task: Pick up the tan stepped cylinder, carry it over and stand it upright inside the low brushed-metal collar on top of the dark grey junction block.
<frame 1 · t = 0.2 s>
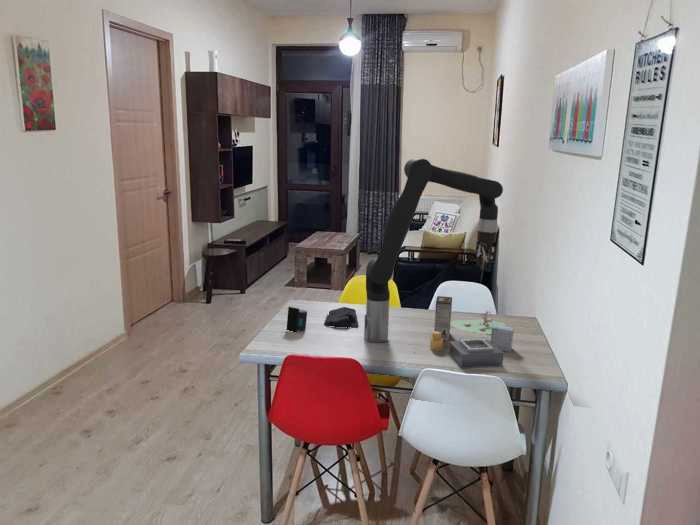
hand: (483, 268, 230), 29 cm above the table, tool pointing down, fingers open, 8 cm apart
medicine box: (501, 348, 222), on the table
plant: (477, 327, 247), on the table
coffee box: (441, 336, 233), on the table
junction block: (474, 359, 210), on the table
speaker: (297, 330, 236), on the table
dark slate chunk: (342, 321, 251), on the table
tan stepped cylinder: (436, 348, 220), on the table
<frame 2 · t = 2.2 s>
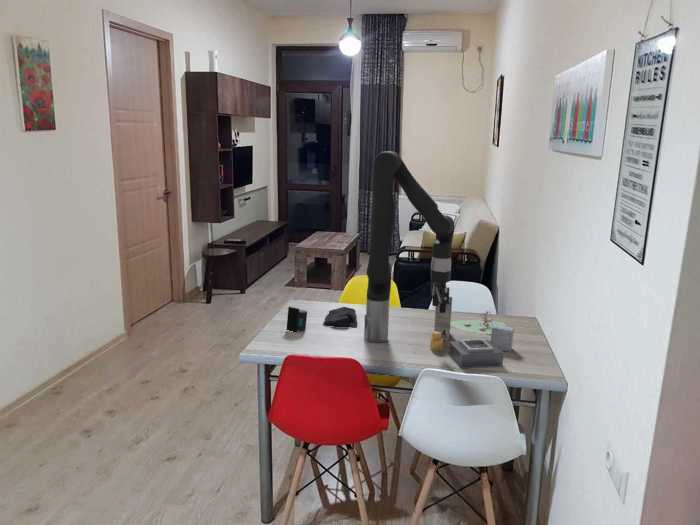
hand: (438, 309, 216), 16 cm above the table, tool pointing down, fingers open, 8 cm apart
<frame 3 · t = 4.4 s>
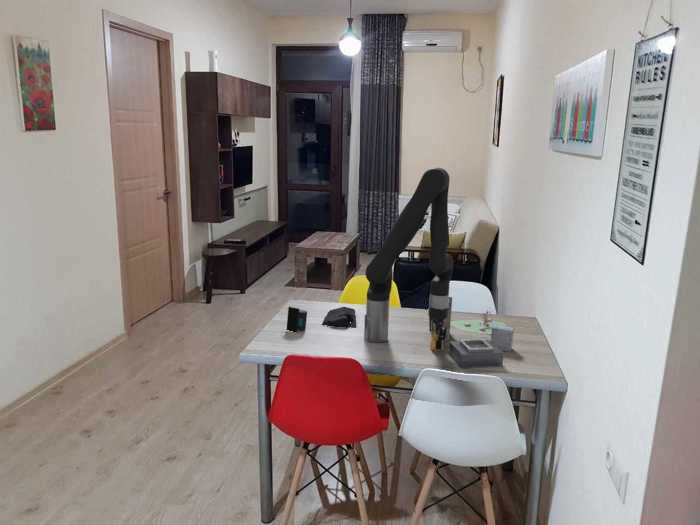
hand: (436, 346, 219), 1 cm above the table, tool pointing down, fingers closed on tan stepped cylinder, 4 cm apart
tan stepped cylinder: (435, 348, 220), on the table, touching gripper
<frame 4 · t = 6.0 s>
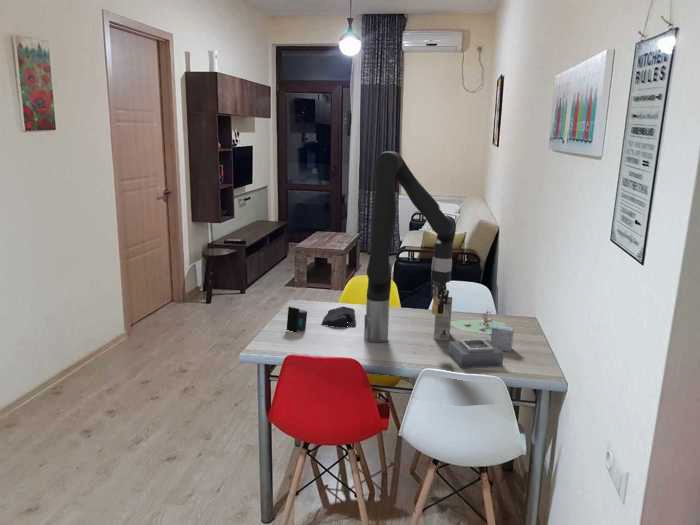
hand: (438, 311, 216), 15 cm above the table, tool pointing down, fingers closed on tan stepped cylinder, 4 cm apart
tan stepped cylinder: (437, 313, 216), point 14 cm above the table, touching gripper
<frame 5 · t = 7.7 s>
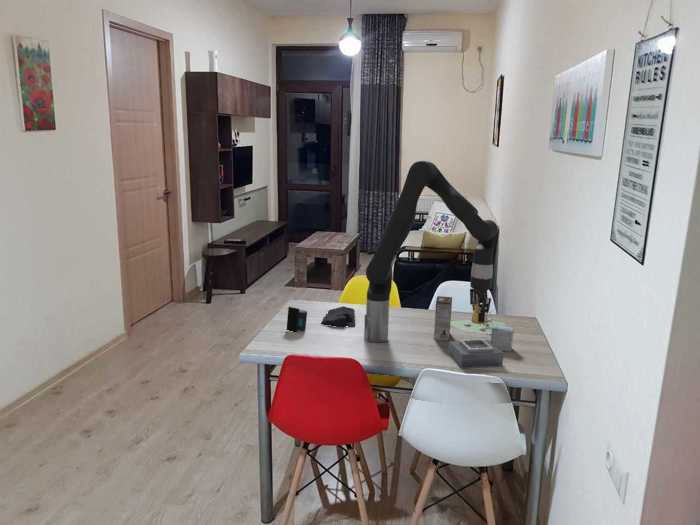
hand: (478, 319, 206), 16 cm above the table, tool pointing down, fingers closed on tan stepped cylinder, 4 cm apart
tan stepped cylinder: (478, 322, 206), point 15 cm above the table, touching gripper
when the fingers open (7 cm above the table, at t = 9.9 s): tan stepped cylinder drops 1 cm, resting on junction block.
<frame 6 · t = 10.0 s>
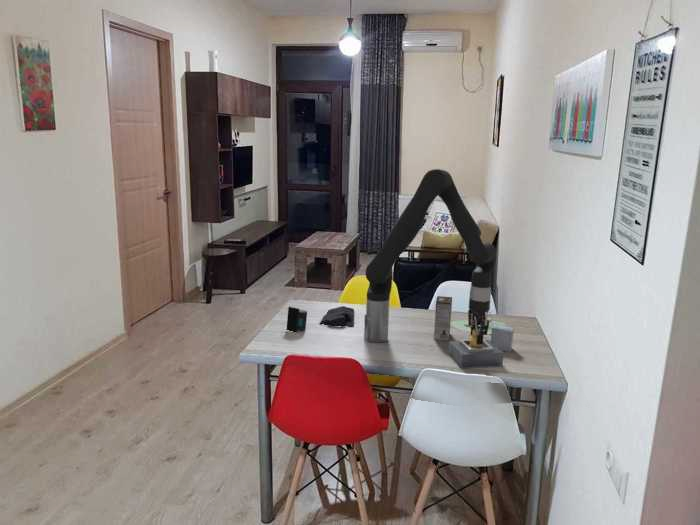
hand: (476, 340, 208), 7 cm above the table, tool pointing down, fingers open, 5 cm apart
tan stepped cylinder: (476, 347, 209), point 5 cm above the table, touching junction block
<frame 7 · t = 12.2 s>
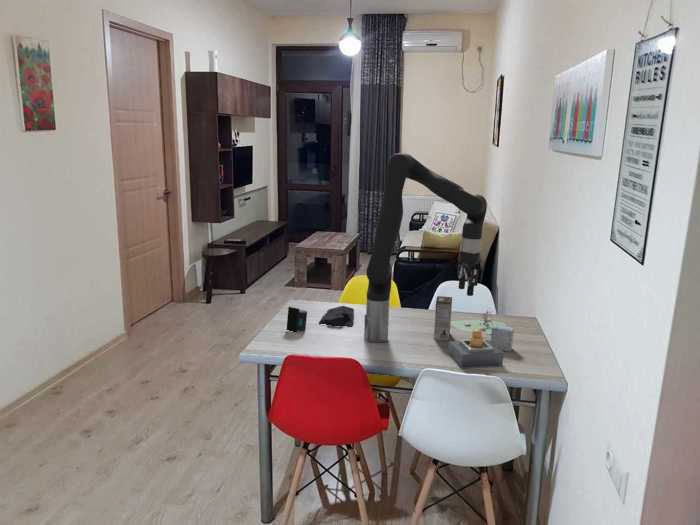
hand: (465, 292, 208), 25 cm above the table, tool pointing down, fingers open, 8 cm apart
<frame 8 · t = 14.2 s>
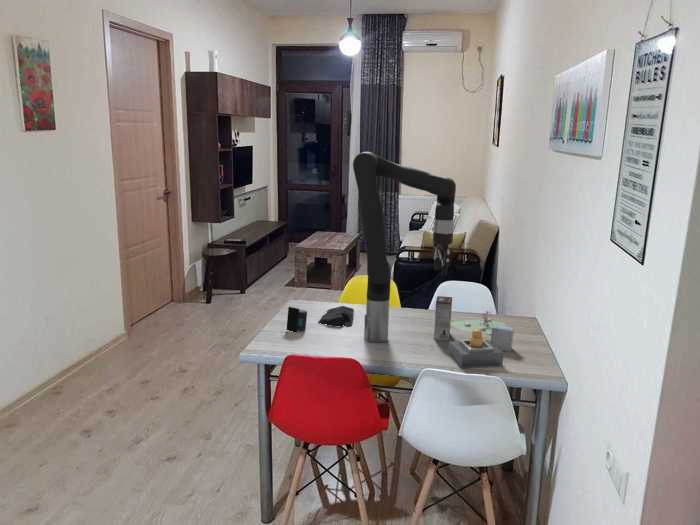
hand: (440, 272, 216), 30 cm above the table, tool pointing down, fingers open, 8 cm apart
at the end: tan stepped cylinder 0.1 cm off-centre on the junction block, point 5.0 cm above the junction block's base; tan stepped cylinder tilted 0°; the gripper is holding nothing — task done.
